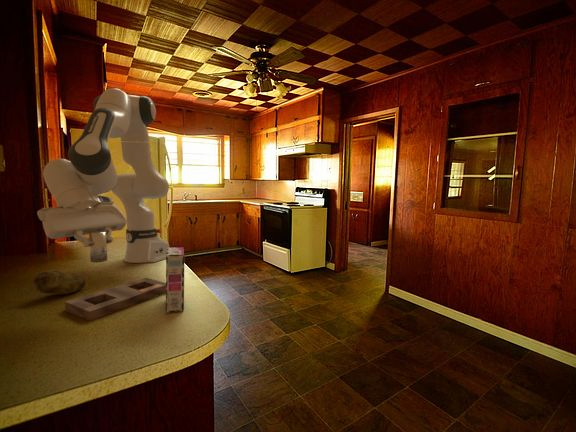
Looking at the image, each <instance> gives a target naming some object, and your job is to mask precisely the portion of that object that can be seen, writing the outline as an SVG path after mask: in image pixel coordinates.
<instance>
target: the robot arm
mask: <svg viewBox="0 0 576 432" xmlns="http://www.w3.org/2000/svg"><path fill="white" fill-rule="evenodd" d="M92 104H93V105H92V106H93V107H92V108H93V111H92V113H91V114H90V116H89V117H88V120H87V122H86V125H85V127H84V130H83V132H82V133H81V135H80V136H79V138H78V139H77V140H76V141H74V142H73V144H72V145H71V146H70V147H69V149H68V152H67V156H68V159H66V158H56V159H53V160H51V161H49V162H47V163H46V165H45V166H44V168H43V172H42V174H43V175H42V176H43V179H44V183H45V184H46V187H47V189H48V191H49V193H50V194H51V195H52V196H53V197H54V199H55V203H56V206H54V207H53V206H52V207H47V206H46V207H42V208H41V209H39V210H37V212H36V214H37V217H38V219H39V220H40V221H41V222H42V227H43V230H44V233H45V235H46V237H47V238H50V239H51V240H54V239H64V238H71V237H74V239H75V240H77V241H78V242H81V243H82V244H83V247H84V248H88V247H89V248H90V246H92V244H93V241H91V240H92V239H91V238H89V237H87V236H85V235H89V233H90V232H95V231H105V232H106V236H107V245H108V244H111V243H112V242H113V241H114V238H113V237H112V232H115V231H116V232H117V231H122V230H124V228H125V227H126V229H125V239H126V247H125V249H126V250H125V254H124V258H123V262H125V263H131V264H132V263H133V264H139V263H140V264H143V263H156V262H160V261H163V260H166V252H167V248H171V247H170V244H169V242H167V241H166V240H165V239H163V238H162V237H160V236H159V235H158V234H161V233H162V232H163V230H162V228H155V213H154V211H153V209H152V208H150V207H148V206H147V205H146V203H145V201H144V199H146V200H147V199H148V200H155V199H157V200H158V199H163V198H165V197H166V196H167V194H169V190H170V189H169V188H170V185H169V182H168V180H167V179H166V177H165V176H163V175H162V174H161V173H160V172H159V171H158V169H157V168H156V166H155V165H154V163H153V159H152V154H151V144H150V136H149V135H150V134H149V131H148V127H149V125H151V124H152V123H153V122H154V121H155V120H156V115H157V109H156V106H155V104H154V101H153V100H152V99H151V97H148V96H145V95H141V96H139V95H135V94H134V95H132V94H127V93H126V92H125V91H123V90H122V89H120V88H115V87H112V88H108V89H105V90H104V91H103V92H102V94H100V95H98V96H96V97H95V99H94V100H93V103H92ZM119 138H120V144H121V145H120V146H121V152H122V154H121V155H122V159H123V161H124V163H126V164H127V165H129V166H131V167H132V170H134V173H122V174H117V171H116V167H115V165H114V162H113V159H112V154H111V150H110V147H109V145H108V141H109V139H119ZM110 191H111V192H112V193H113V194H114V196H115V197H118V199H119V200H120V201H121V203H122V206H123V208H124V210H125V214H126V216H125V214H124V213H123V211H122V210H121V209H120V208H119V207H118V206H117V205H116V204H114V202H115V201H114V199H113V198H112V197H109V196H104V195H103V194H106V193H109V192H110Z"/></svg>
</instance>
